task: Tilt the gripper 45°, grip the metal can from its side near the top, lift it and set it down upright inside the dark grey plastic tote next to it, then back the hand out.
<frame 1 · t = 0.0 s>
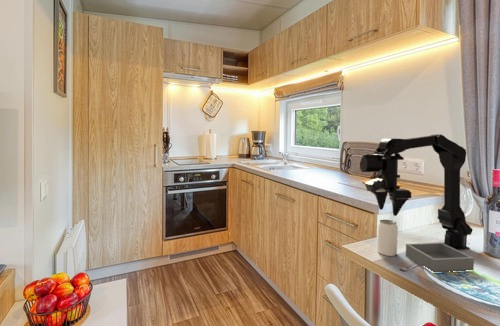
hand: (387, 212, 106), 15 cm above the table, tool pointing down, fingers open, 9 cm apart
tote: (437, 263, 95), on the table
can: (387, 253, 104), on the table
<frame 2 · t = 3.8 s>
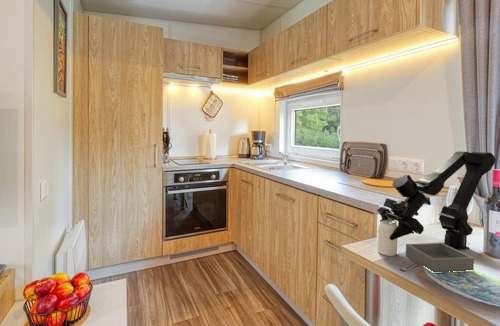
hand: (384, 236, 103), 7 cm above the table, tool tilted 45°, fingers closed on can, 6 cm apart
can: (387, 253, 104), on the table, touching gripper
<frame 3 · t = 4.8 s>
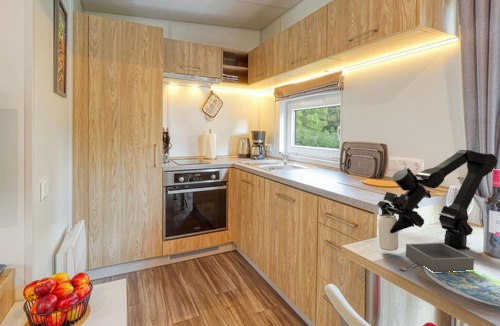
hand: (384, 229, 103), 9 cm above the table, tool tilted 45°, fingers closed on can, 6 cm apart
can: (388, 248, 103), point 2 cm above the table, touching gripper
when the fingers open (9 cm above the table, at t = 8.1 s): can drops 1 cm, resting on tote.
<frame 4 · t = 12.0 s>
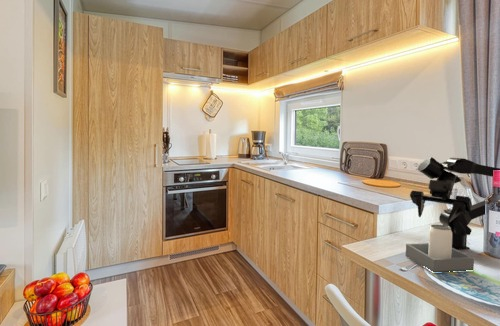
hand: (433, 219, 100), 14 cm above the table, tool tilted 45°, fingers open, 9 cm apart
can: (439, 261, 94), point 1 cm above the table, touching tote
at the end: can inside the target area on the tote (0.6 cm from its centre), point 0.6 cm above the tote's base; can tilted 0°; the gripper is holding nothing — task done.
